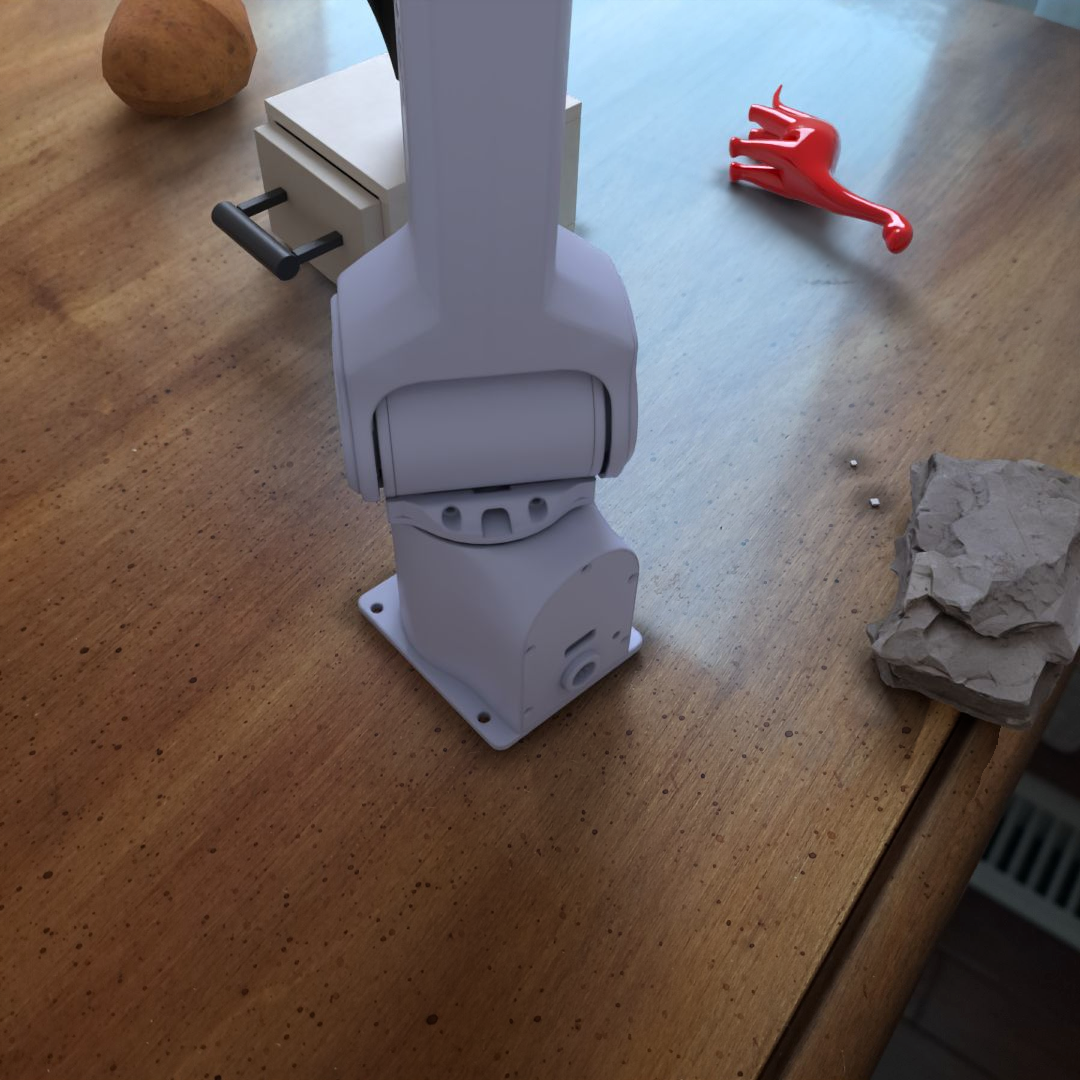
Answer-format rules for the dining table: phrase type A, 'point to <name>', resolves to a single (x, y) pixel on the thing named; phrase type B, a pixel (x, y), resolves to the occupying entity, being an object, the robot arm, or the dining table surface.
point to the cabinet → (384, 134)
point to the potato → (178, 54)
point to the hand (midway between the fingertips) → (418, 82)
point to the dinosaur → (807, 167)
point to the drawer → (303, 210)
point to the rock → (985, 587)
